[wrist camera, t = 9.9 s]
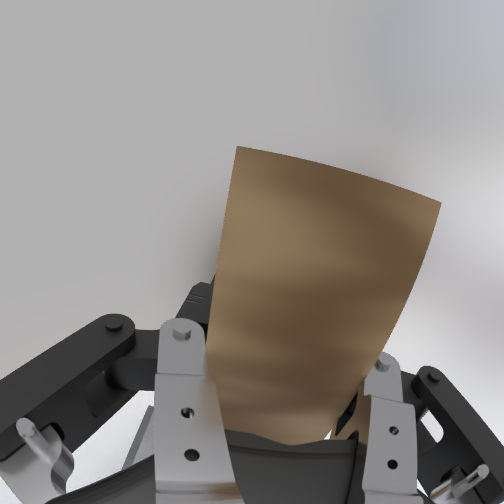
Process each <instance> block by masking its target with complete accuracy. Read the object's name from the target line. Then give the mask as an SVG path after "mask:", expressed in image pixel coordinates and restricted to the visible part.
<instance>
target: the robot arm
mask: <svg viewBox="0 0 504 504" xmlns="http://www.w3.org/2000/svg"><path fill="white" fill-rule="evenodd" d="M215 275H216V274H215ZM215 275H214V278H213V280H212V282H211V284H208V283H203V282H200V283H198V284H197V285H195V286H193V287H192V289H191V291H190V292H189V295H188V296H187V298H186V300H185V301H184V303H183V305H182V307H181V308H180V310H179V312H178V314H177V316H176V317H175V318H174V319H170V320H168V321H166V322H164V323H163V324H162V325H161V327H160V329H159V330H138V329H135V324H134V322H133V321H132V320H131V319H130V318H129V317H127V316H124V315H121V314H107V315H104V316H101V317H99V318H98V319H96V320H94V321H93V322H91V323H89V324H88V325H86V326H85V327H83V328H81V329H80V330H78V331H76V332H75V333H73V334H72V335H70V336H68V337H67V338H65V339H64V340H62V341H60V342H59V343H57V344H56V345H54V346H52V347H51V348H49V349H48V350H46V351H45V352H43V353H41V354H40V355H38V356H37V357H35V358H34V359H32V360H30V361H29V362H27V363H26V364H24V365H23V366H21V367H20V368H18V369H17V370H15V371H13V372H12V373H10V374H9V375H7V376H6V377H4V378H3V379H1V380H0V476H1V477H2V479H3V480H4V481H5V483H6V484H7V485H8V487H9V488H10V489H11V490H12V492H13V493H14V494H15V495H16V497H17V498H18V499H19V500H20V501H21V502H22V504H500V503H502V502H503V501H504V446H503V445H502V444H501V442H500V441H499V440H498V439H497V437H496V436H495V435H494V433H493V432H492V431H491V430H490V428H488V426H487V425H486V423H485V422H484V421H483V420H482V419H481V417H480V416H479V415H478V414H477V412H476V411H475V410H474V409H473V408H472V406H471V405H470V404H469V403H468V402H467V400H466V399H465V398H464V397H463V396H462V395H461V393H460V392H459V391H458V390H457V389H456V388H455V387H454V385H453V384H452V383H451V382H450V381H449V380H448V379H447V378H446V376H445V375H444V374H443V373H442V372H441V371H439V370H438V369H436V368H434V367H431V366H423V367H421V368H420V370H419V371H418V372H417V374H416V375H414V374H410V373H407V372H404V371H401V370H400V365H399V363H398V362H397V361H396V359H395V358H394V357H392V356H391V355H389V354H387V353H385V352H381V353H380V355H379V357H378V359H377V361H376V362H375V364H374V366H373V367H372V369H371V371H370V373H369V374H368V375H365V376H364V378H363V379H362V381H361V383H360V384H359V386H358V392H357V393H356V395H355V396H354V398H353V399H352V401H351V402H350V404H349V405H348V407H347V408H346V410H345V411H344V413H343V414H342V415H341V416H338V417H337V419H336V420H335V422H334V423H333V426H332V431H331V435H330V439H329V440H321V441H316V442H310V443H304V444H298V445H286V444H283V443H279V442H276V441H273V440H270V439H267V438H264V437H261V436H258V435H255V434H252V433H246V432H240V431H234V430H229V429H224V427H223V422H222V417H221V411H220V406H219V400H218V395H217V389H216V383H215V378H214V376H213V375H210V374H209V367H208V360H207V353H206V352H205V349H206V341H207V333H208V325H209V318H210V310H211V303H212V296H213V289H214V282H215ZM139 390H144V391H155V394H154V454H152V455H150V456H149V457H147V458H145V459H143V460H141V461H139V462H137V463H135V464H133V465H131V466H129V467H127V468H125V469H123V470H121V471H119V472H117V473H115V474H113V475H111V476H108V477H106V478H104V479H102V480H99V481H97V482H95V483H92V484H90V485H87V486H85V487H82V488H80V489H77V490H75V491H72V492H69V493H67V494H66V481H67V479H68V478H69V476H70V475H71V474H72V472H73V469H74V459H73V456H72V453H73V452H74V451H75V450H76V449H77V448H78V447H79V446H81V445H82V444H83V443H84V442H85V441H86V440H87V439H88V438H89V437H90V436H91V435H93V434H94V433H95V432H96V431H97V430H98V429H99V428H100V427H101V426H102V425H103V424H104V423H105V422H107V421H108V420H109V419H110V418H111V417H112V416H113V415H114V414H115V413H116V412H117V411H118V410H119V409H120V408H121V407H123V406H124V405H125V404H126V403H127V402H128V401H129V400H130V399H131V398H132V397H133V396H134V395H135V394H136V393H137V392H138V391H139ZM428 410H430V412H431V413H432V414H433V416H434V417H435V418H436V420H437V421H438V422H439V424H440V425H441V426H442V428H443V431H444V434H443V438H442V439H441V440H440V441H439V442H438V443H437V442H435V440H434V438H433V437H432V436H431V434H430V433H429V431H428V430H427V429H426V427H425V426H424V424H423V423H422V422H421V418H422V417H423V416H424V415H425V414H426V413H427V411H428ZM417 479H418V481H419V482H420V484H421V486H422V487H423V489H424V490H425V492H426V494H427V495H428V497H429V498H428V497H427V496H426V495H425V494H423V493H422V492H421V491H420V490H419V489H417Z"/></svg>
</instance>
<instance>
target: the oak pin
mask: <svg viewBox="0 0 504 504" xmlns="http://www.w3.org/2000/svg"><path fill="white" fill-rule="evenodd" d="M440 207H441V202H439V201H436V200H434V199H431V198H429V197H426V196H423V195H421V194H418V193H415V192H412V191H410V190H407V189H404V188H401V187H398V186H395V185H393V184H390V183H387V182H383V181H380V180H377V179H373V178H371V177H368V176H364V175H361V174H357V173H354V172H350V171H347V170H344V169H340V168H336V167H332V166H329V165H325V164H321V163H317V162H313V161H309V160H305V159H300V158H296V157H291V156H287V155H282V154H277V153H273V152H268V151H263V150H257V149H252V148H246V147H241V146H237V149H236V155H235V160H234V166H233V171H232V177H231V182H230V188H229V194H228V199H227V205H226V211H225V217H224V223H223V229H222V236H221V242H220V248H219V255H218V261H217V268H216V275H215V282H214V289H213V296H212V303H211V310H210V318H209V325H208V333H207V341H206V349H205V352H206V353H207V360H208V367H209V374H210V375H213V376H214V378H215V383H216V389H217V395H218V400H219V406H220V411H221V417H222V422H223V427H224V429H229V430H234V431H240V432H246V433H252V434H255V435H258V436H261V437H264V438H267V439H270V440H273V441H276V442H279V443H283V444H286V445H298V444H304V443H310V442H316V441H321V440H324V438H325V437H326V436H327V434H328V433H329V432H330V430H331V429H332V426H333V423H334V422H335V420H336V419H337V417H338V416H341V415H342V414H343V413H344V411H345V410H346V408H347V407H348V405H349V404H350V402H351V401H352V399H353V398H354V396H355V395H356V393H357V392H358V386H359V384H360V383H361V381H362V379H363V378H364V376H365V375H368V374H369V373H370V371H371V369H372V367H373V366H374V364H375V362H376V361H377V359H378V357H379V355H380V353H381V352H382V350H383V348H384V346H385V344H386V342H387V340H388V339H389V337H390V335H391V333H392V331H393V329H394V327H395V325H396V323H397V321H398V319H399V316H400V314H401V312H402V310H403V308H404V306H405V304H406V301H407V299H408V297H409V294H410V292H411V290H412V288H413V285H414V283H415V280H416V278H417V275H418V273H419V270H420V268H421V265H422V262H423V259H424V257H425V254H426V251H427V249H428V245H429V243H430V240H431V237H432V234H433V230H434V227H435V224H436V220H437V217H438V214H439V210H440Z"/></svg>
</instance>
